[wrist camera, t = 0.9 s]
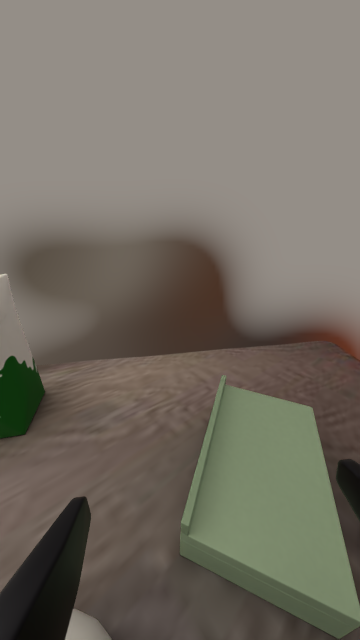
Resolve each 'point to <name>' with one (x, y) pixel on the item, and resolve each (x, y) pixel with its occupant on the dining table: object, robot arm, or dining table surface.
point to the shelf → (270, 510)
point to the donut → (85, 628)
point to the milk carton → (15, 370)
